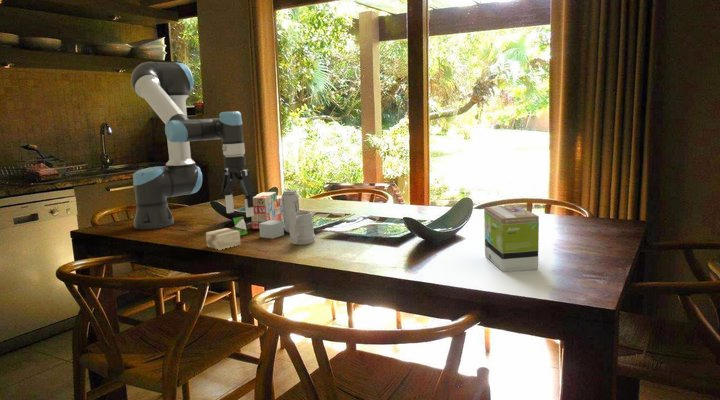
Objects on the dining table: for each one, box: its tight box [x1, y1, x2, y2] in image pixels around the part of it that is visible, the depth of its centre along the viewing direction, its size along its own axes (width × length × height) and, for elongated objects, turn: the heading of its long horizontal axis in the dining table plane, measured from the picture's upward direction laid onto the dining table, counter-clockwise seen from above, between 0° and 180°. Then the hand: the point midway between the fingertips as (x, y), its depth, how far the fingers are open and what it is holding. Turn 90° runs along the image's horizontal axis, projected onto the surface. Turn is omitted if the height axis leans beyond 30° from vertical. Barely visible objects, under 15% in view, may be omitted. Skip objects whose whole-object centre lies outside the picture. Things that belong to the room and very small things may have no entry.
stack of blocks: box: [250, 191, 284, 230], centre depth 205 cm, size 21×6×12 cm, turn 168°
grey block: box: [258, 220, 285, 239], centre depth 184 cm, size 6×6×5 cm
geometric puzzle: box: [229, 215, 252, 237], centre depth 188 cm, size 7×7×8 cm
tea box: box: [483, 204, 540, 273], centre depth 140 cm, size 15×10×15 cm, turn 5°
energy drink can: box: [281, 189, 301, 233], centre depth 189 cm, size 6×6×15 cm
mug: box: [288, 210, 316, 246], centre depth 171 cm, size 8×12×12 cm, turn 156°
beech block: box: [205, 227, 241, 251], centre depth 173 cm, size 8×8×5 cm
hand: (240, 214), depth 187 cm, fingers open, 13 cm apart
